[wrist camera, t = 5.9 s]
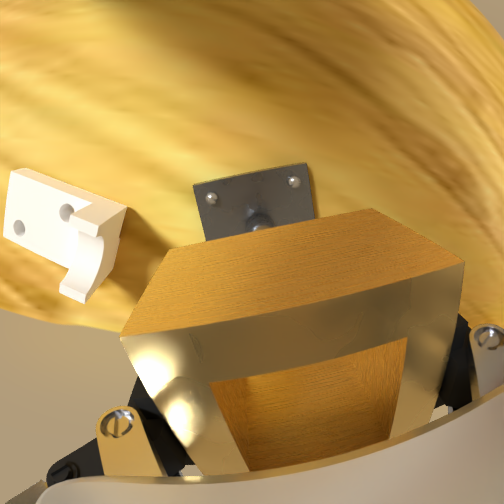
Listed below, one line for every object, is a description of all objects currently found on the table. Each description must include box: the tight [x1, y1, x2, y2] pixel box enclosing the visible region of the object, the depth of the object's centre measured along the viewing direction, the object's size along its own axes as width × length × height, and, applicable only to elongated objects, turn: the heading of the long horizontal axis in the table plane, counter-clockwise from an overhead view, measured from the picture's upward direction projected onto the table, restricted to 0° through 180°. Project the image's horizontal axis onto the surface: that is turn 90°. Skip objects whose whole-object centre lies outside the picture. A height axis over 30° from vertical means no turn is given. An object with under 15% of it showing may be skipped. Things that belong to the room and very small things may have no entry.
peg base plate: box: [193, 162, 315, 241], centre depth 25 cm, size 10×10×7 cm
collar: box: [119, 208, 465, 476], centre depth 9 cm, size 7×7×5 cm
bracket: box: [3, 168, 127, 304], centre depth 23 cm, size 13×7×8 cm, turn 67°
